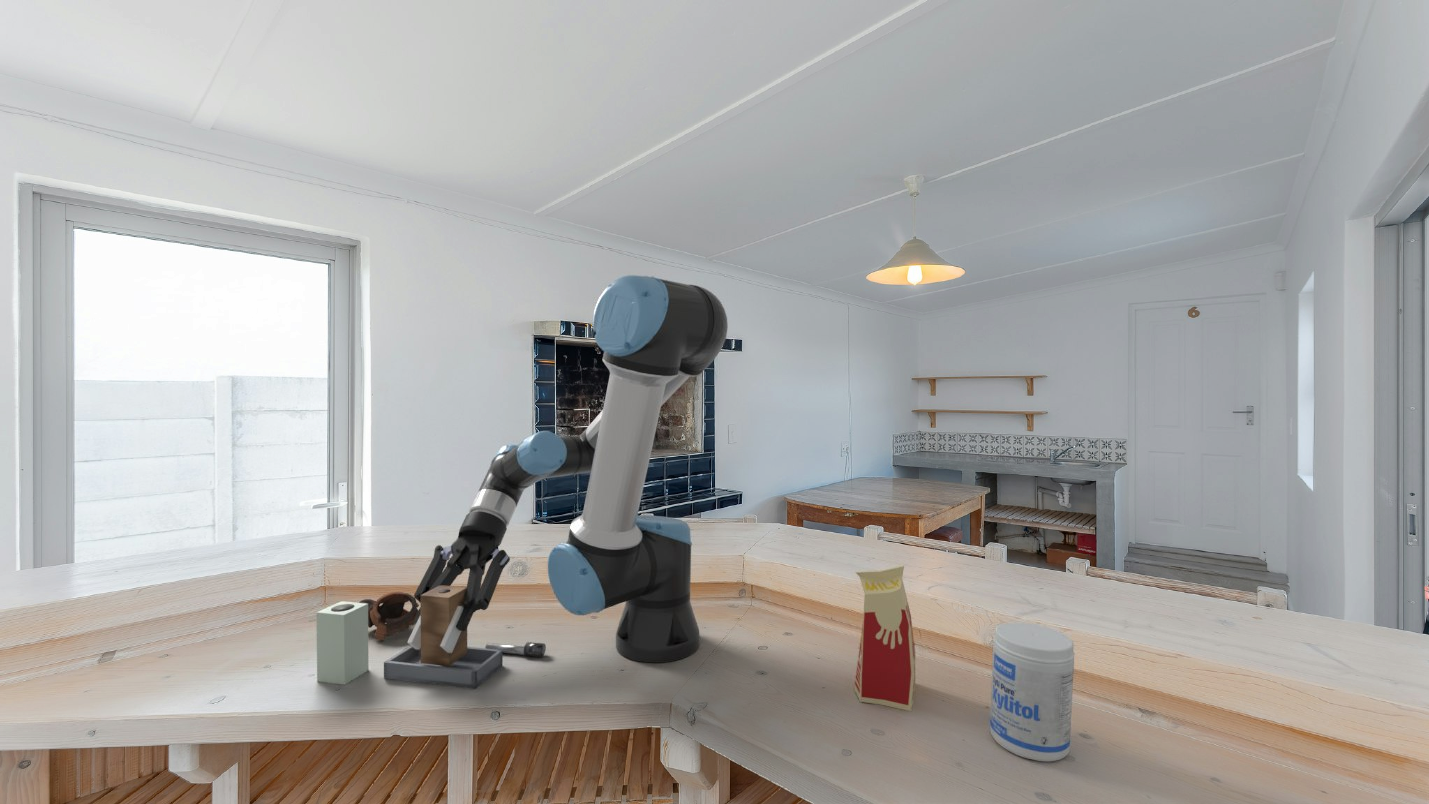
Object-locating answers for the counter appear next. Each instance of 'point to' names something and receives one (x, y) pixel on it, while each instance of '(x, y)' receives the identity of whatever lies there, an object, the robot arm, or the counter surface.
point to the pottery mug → (390, 613)
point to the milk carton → (886, 642)
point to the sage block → (342, 642)
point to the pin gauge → (520, 649)
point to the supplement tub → (1032, 690)
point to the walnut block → (440, 624)
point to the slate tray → (445, 668)
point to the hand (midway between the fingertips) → (429, 647)
